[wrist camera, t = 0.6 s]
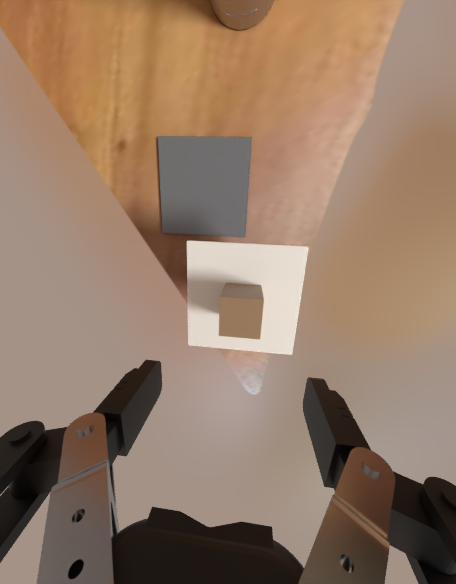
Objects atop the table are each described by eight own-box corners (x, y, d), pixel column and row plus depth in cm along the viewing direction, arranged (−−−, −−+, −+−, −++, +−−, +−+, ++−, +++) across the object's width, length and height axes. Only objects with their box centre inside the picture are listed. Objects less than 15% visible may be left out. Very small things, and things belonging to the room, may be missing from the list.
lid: (188, 240, 24) (170, 244, 18) (306, 246, 23) (324, 251, 17) (190, 341, 28) (175, 370, 22) (291, 351, 27) (301, 383, 21)
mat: (159, 137, 35) (157, 136, 34) (251, 138, 33) (251, 137, 33) (163, 233, 39) (162, 233, 38) (245, 237, 38) (244, 237, 37)
